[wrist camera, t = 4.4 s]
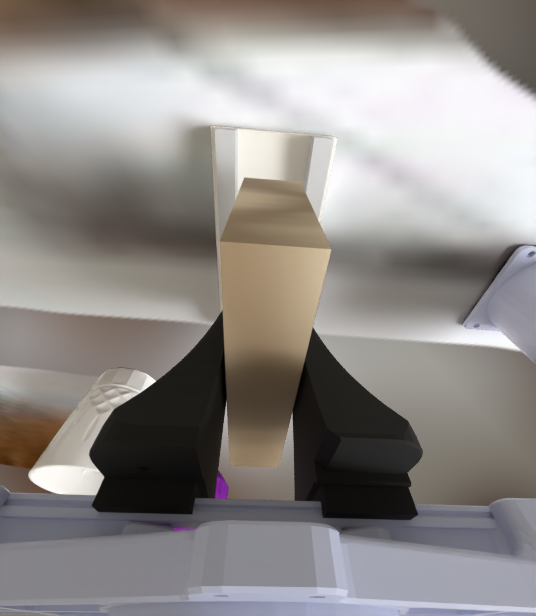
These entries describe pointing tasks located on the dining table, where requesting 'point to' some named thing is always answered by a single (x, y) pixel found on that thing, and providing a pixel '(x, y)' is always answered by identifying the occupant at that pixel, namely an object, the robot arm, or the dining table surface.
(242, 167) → the track board
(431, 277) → the dining table surface
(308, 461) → the robot arm
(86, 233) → the dining table surface
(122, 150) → the dining table surface
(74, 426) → the white cup
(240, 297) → the tan rectangular block
